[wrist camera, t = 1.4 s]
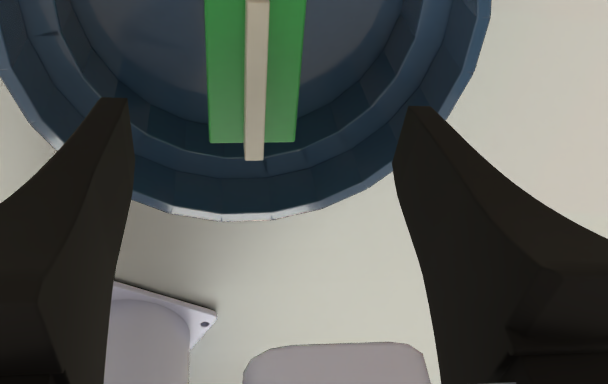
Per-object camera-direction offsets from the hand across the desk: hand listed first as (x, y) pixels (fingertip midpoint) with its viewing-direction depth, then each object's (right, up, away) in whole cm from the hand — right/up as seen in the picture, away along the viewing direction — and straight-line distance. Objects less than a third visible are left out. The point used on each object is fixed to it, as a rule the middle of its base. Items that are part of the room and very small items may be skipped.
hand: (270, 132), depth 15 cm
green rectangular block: (-1, +6, +7) cm, 10 cm away
